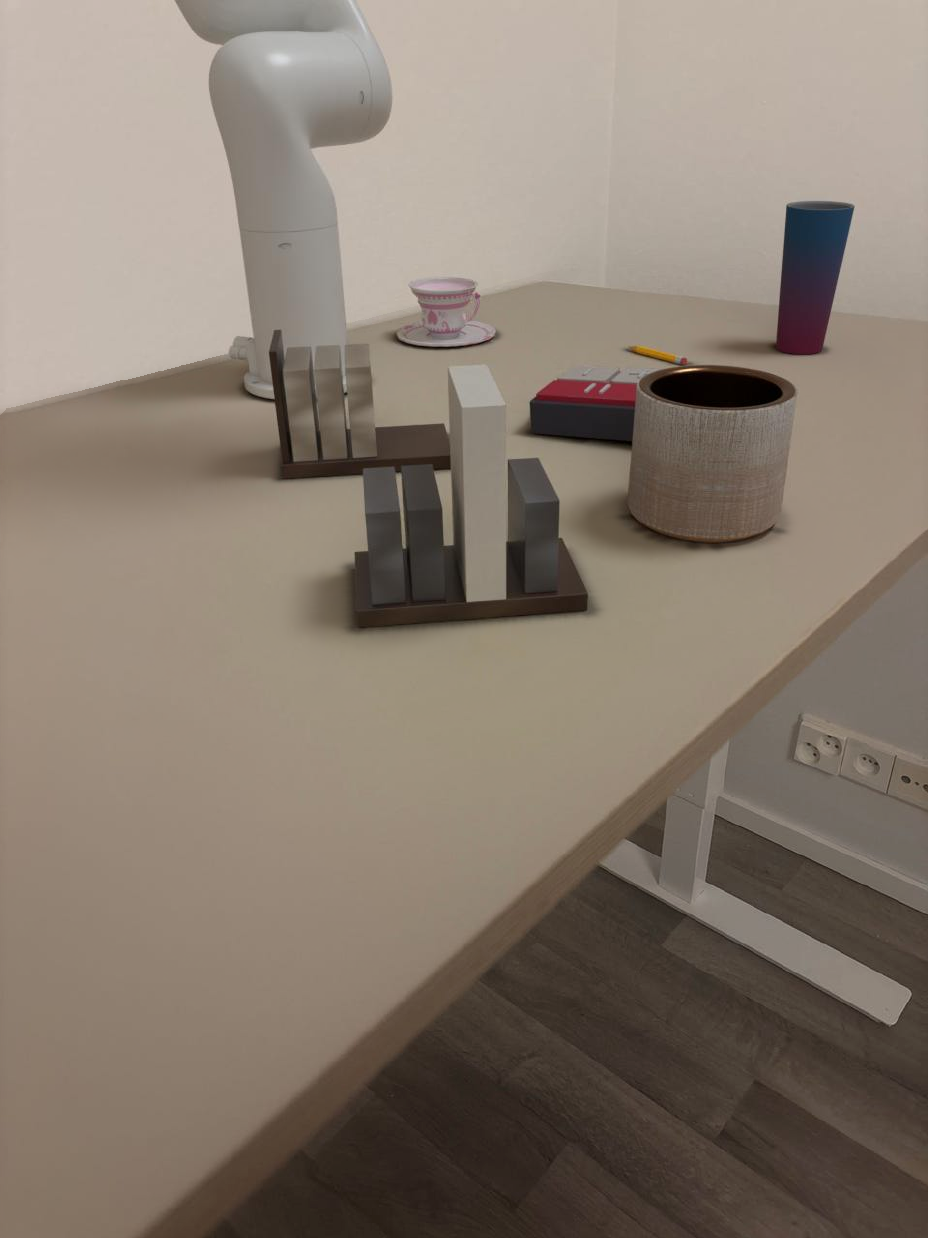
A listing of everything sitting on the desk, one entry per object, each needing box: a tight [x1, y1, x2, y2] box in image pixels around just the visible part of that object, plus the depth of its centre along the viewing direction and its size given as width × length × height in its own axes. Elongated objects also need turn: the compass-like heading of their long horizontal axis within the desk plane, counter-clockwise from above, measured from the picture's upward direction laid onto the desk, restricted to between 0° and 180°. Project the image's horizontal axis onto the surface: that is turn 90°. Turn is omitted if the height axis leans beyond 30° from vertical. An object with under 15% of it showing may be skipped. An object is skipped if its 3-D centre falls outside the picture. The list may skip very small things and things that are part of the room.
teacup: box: [396, 276, 496, 348], centre depth 116 cm, size 12×12×6 cm
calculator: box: [529, 364, 663, 442], centre depth 87 cm, size 11×4×15 cm
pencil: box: [626, 345, 688, 366], centre depth 107 cm, size 1×9×1 cm, turn 38°
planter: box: [627, 364, 798, 544], centre depth 68 cm, size 11×11×10 cm
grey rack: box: [353, 457, 589, 628], centre depth 60 cm, size 14×8×7 cm, turn 96°
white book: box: [447, 363, 507, 602], centre depth 58 cm, size 2×8×12 cm, turn 6°
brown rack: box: [269, 330, 451, 480], centre depth 80 cm, size 14×8×10 cm, turn 96°
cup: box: [775, 200, 855, 355], centre depth 105 cm, size 7×7×15 cm
